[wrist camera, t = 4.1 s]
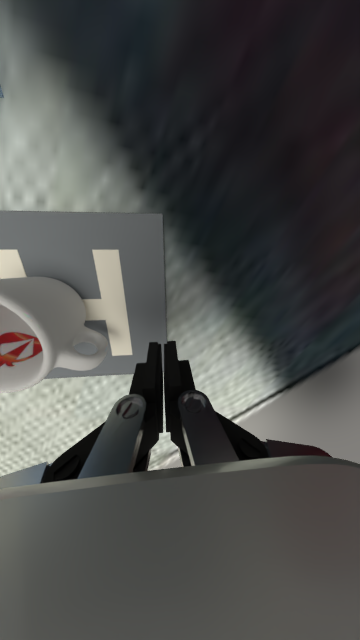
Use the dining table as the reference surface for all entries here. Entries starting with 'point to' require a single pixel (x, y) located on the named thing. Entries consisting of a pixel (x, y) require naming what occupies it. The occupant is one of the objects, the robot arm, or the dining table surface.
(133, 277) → the letter mat
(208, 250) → the dining table surface
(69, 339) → the cup
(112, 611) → the robot arm
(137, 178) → the dining table surface
